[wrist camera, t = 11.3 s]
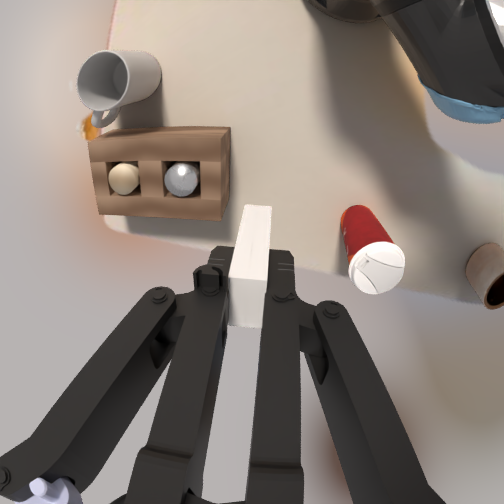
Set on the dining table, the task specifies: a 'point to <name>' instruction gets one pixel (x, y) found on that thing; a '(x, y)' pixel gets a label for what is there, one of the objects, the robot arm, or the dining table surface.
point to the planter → (487, 275)
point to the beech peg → (124, 177)
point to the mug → (116, 81)
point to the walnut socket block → (163, 171)
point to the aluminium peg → (183, 177)
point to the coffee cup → (370, 252)
